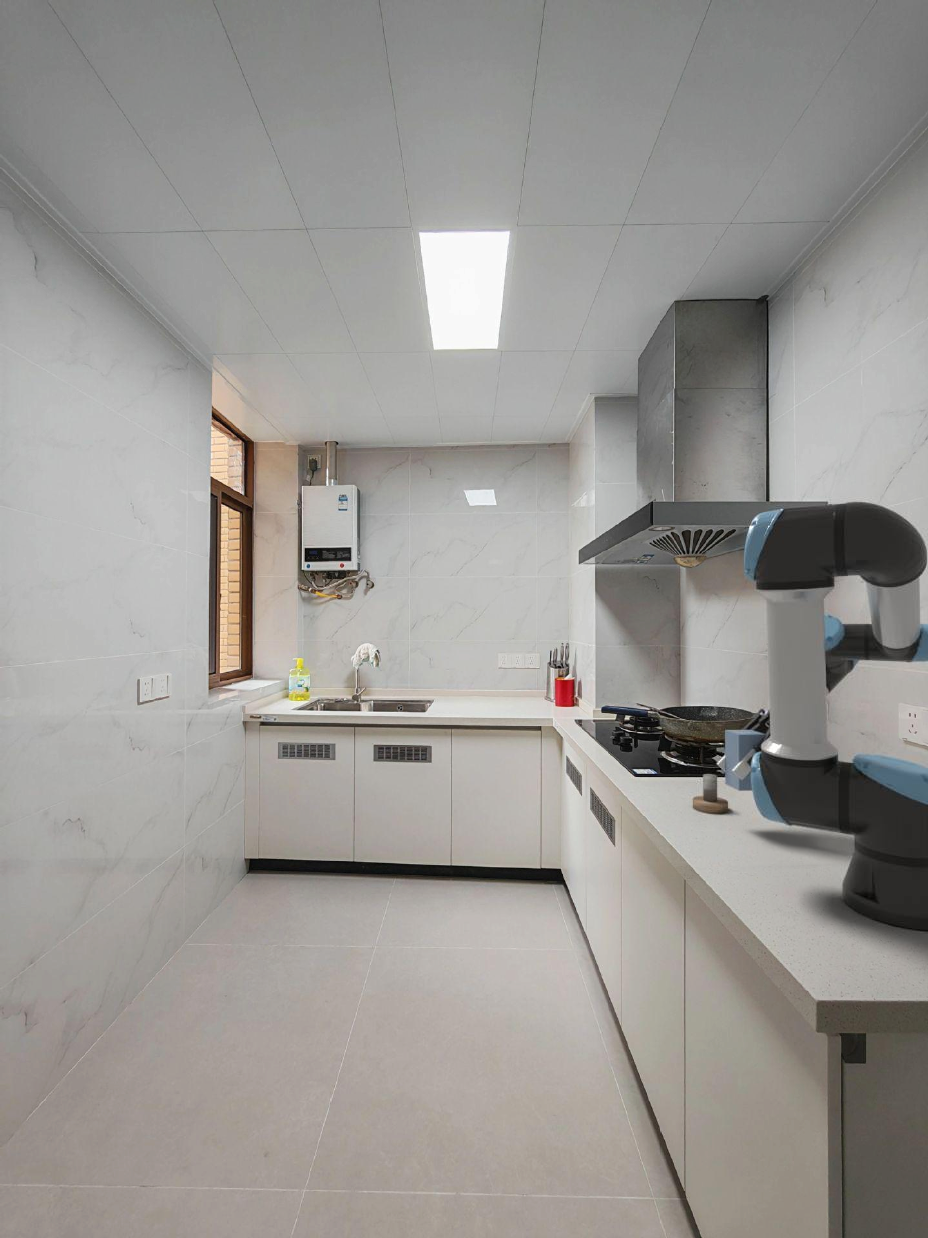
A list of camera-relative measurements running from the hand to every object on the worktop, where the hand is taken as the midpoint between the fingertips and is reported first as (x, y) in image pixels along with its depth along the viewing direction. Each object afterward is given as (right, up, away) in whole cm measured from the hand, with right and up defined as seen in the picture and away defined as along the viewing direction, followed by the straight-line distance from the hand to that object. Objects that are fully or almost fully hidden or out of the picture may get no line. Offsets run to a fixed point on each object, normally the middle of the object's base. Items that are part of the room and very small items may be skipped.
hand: (729, 771), depth 136 cm
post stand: (+2, -13, +15) cm, 20 cm away
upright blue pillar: (+4, -3, 0) cm, 5 cm away
